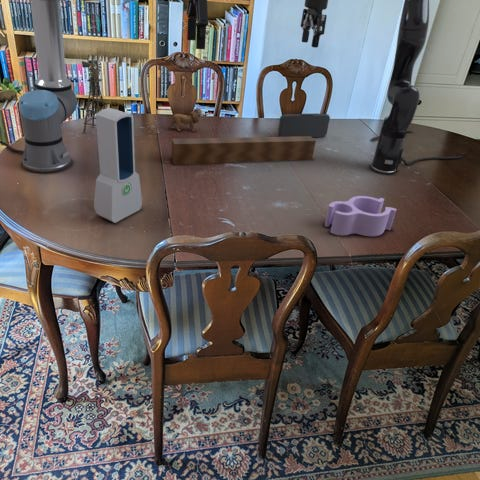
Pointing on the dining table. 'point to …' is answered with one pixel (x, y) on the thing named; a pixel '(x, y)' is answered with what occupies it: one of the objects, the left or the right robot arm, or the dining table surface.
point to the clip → (359, 216)
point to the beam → (241, 149)
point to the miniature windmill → (94, 75)
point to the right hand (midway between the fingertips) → (309, 44)
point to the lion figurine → (187, 119)
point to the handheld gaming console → (303, 125)
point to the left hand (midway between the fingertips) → (195, 44)
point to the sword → (378, 137)
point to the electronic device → (116, 166)
